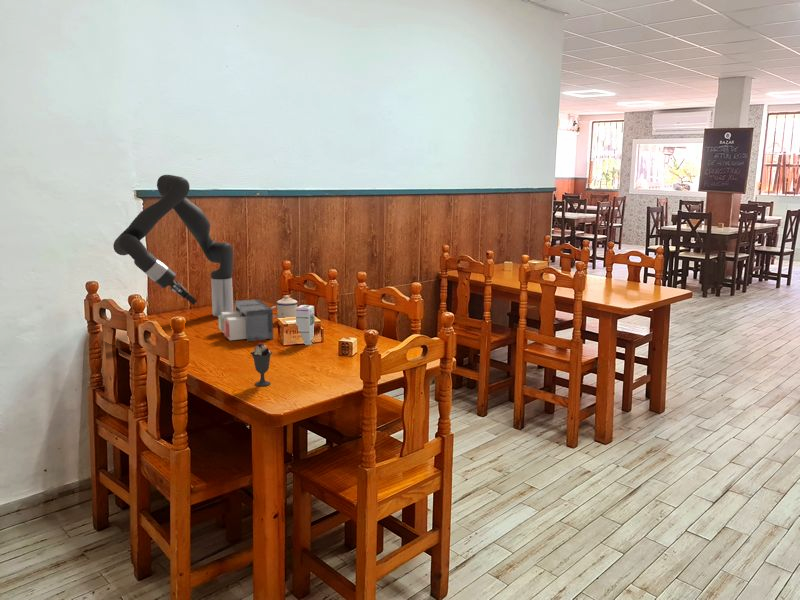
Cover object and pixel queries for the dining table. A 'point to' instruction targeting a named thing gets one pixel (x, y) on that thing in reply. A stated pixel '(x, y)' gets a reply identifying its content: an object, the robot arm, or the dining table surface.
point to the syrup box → (305, 322)
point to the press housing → (256, 318)
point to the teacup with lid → (285, 307)
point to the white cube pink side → (235, 328)
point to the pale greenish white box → (226, 315)
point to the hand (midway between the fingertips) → (194, 302)
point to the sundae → (261, 362)
